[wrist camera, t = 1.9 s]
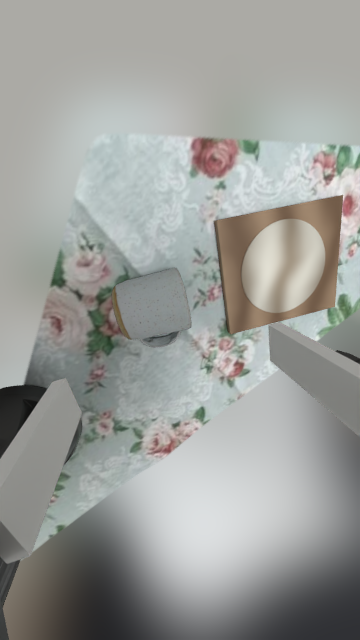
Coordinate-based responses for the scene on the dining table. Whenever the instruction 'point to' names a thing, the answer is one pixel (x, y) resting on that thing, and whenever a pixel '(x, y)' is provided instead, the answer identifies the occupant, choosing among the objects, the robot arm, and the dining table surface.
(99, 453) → the dining table surface
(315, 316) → the dining table surface
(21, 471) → the robot arm
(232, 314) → the board
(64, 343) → the dining table surface
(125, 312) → the ceramic mug
